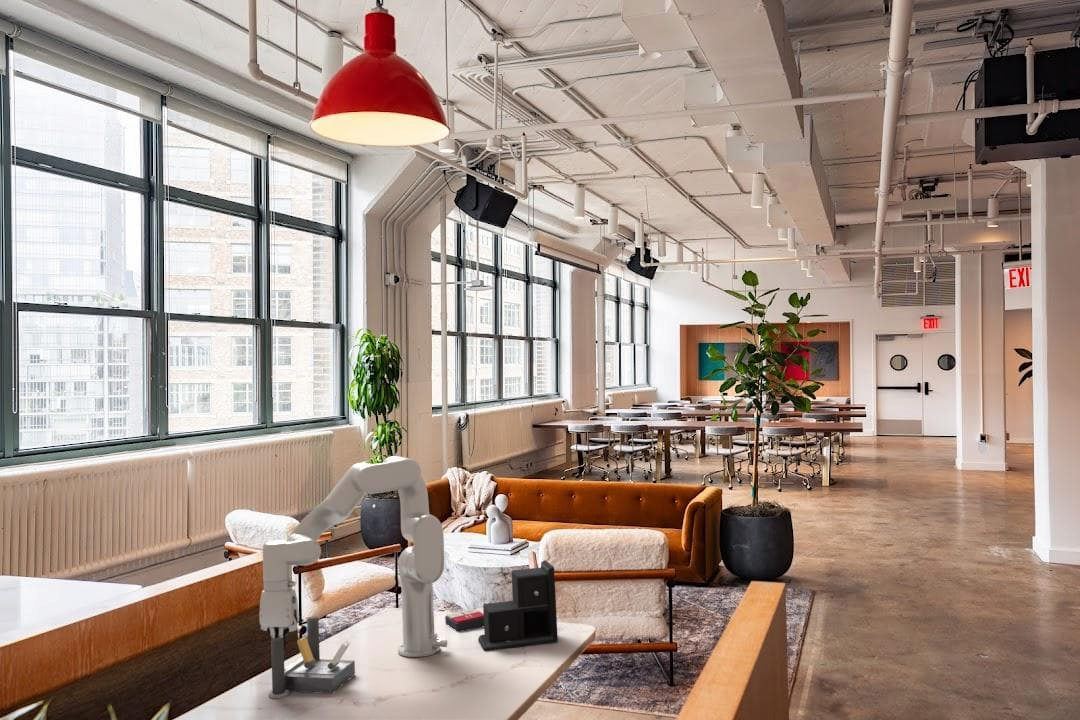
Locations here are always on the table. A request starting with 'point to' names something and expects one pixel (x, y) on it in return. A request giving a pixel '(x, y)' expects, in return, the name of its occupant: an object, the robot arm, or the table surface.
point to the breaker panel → (317, 676)
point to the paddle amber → (306, 652)
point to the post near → (278, 669)
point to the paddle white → (338, 655)
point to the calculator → (466, 619)
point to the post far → (313, 635)
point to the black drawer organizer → (523, 612)
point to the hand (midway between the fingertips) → (279, 651)
